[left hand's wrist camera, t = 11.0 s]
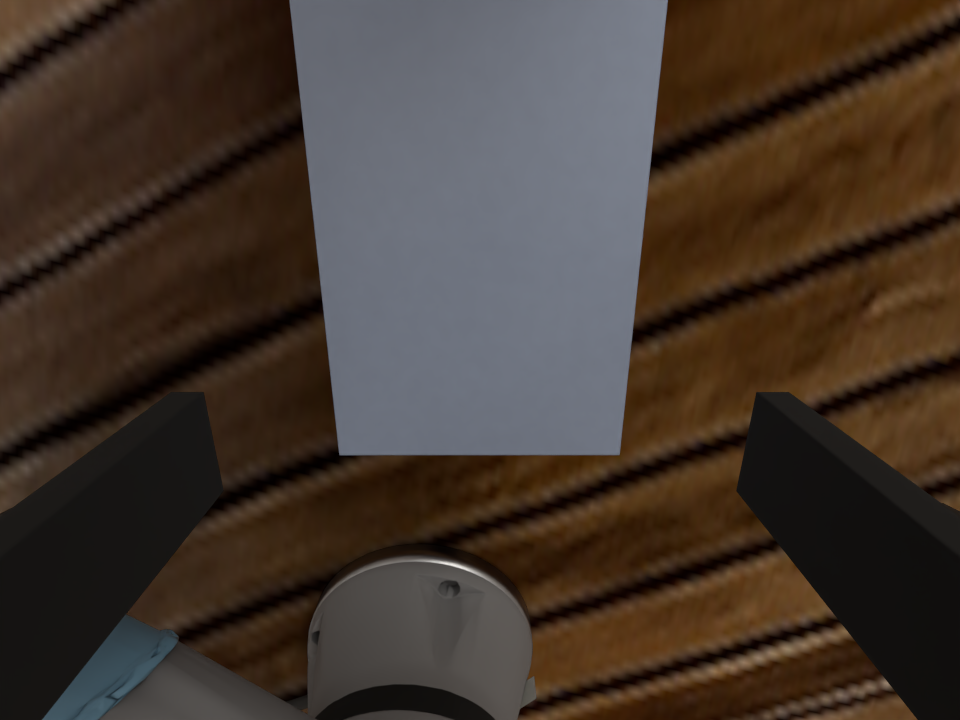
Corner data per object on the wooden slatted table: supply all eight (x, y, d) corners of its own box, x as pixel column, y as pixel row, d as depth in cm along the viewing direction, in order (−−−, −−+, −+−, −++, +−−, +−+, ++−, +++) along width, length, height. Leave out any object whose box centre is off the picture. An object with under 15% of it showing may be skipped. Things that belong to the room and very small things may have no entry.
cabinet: (365, 7, 24) (276, -117, 13) (593, 7, 24) (680, -118, 13) (388, 355, 30) (338, 455, 19) (571, 354, 30) (620, 455, 19)
